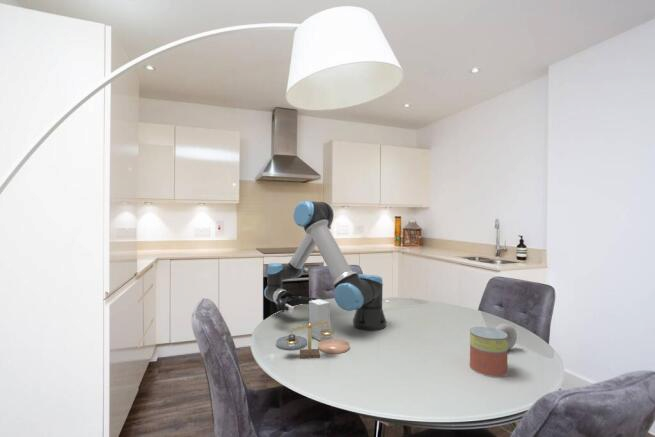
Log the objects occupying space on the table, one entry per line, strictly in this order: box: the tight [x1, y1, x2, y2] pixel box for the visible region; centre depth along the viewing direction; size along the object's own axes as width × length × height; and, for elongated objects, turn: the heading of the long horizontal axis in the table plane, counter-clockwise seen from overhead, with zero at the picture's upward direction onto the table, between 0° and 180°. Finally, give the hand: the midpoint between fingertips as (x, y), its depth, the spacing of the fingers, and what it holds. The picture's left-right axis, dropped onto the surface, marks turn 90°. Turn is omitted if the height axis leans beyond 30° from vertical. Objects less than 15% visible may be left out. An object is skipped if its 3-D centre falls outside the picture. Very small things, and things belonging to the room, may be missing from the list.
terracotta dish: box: [317, 337, 350, 355], centre depth 127 cm, size 12×12×1 cm
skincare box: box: [308, 298, 332, 342], centre depth 138 cm, size 8×6×15 cm
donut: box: [494, 323, 518, 351], centre depth 125 cm, size 10×4×10 cm, turn 105°
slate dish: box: [275, 335, 308, 351], centre depth 130 cm, size 12×12×1 cm
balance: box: [285, 320, 335, 360], centre depth 120 cm, size 18×5×12 cm, turn 96°
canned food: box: [469, 326, 509, 378], centre depth 109 cm, size 11×11×12 cm
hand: (306, 308), depth 146 cm, fingers open, 13 cm apart
